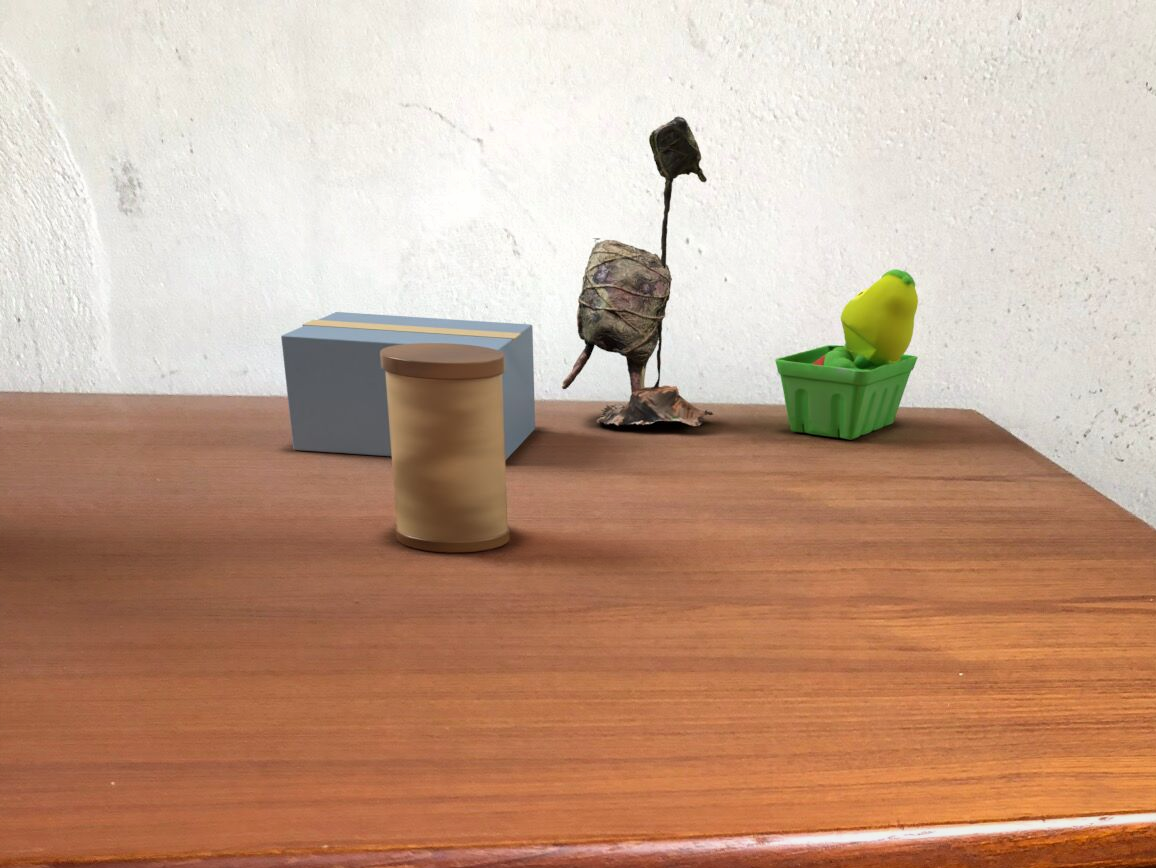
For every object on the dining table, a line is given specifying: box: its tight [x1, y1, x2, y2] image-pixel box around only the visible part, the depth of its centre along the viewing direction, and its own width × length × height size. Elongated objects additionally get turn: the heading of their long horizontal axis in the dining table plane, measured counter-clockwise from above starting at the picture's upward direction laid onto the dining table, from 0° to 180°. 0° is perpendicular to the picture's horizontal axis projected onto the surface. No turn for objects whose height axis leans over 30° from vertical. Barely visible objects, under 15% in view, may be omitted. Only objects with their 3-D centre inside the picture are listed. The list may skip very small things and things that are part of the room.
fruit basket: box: [775, 268, 919, 441], centre depth 113 cm, size 11×9×11 cm
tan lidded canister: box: [380, 343, 511, 554], centre depth 81 cm, size 6×6×10 cm
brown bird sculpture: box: [561, 115, 715, 427], centre depth 108 cm, size 8×11×20 cm
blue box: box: [280, 311, 536, 462], centre depth 103 cm, size 14×12×7 cm
